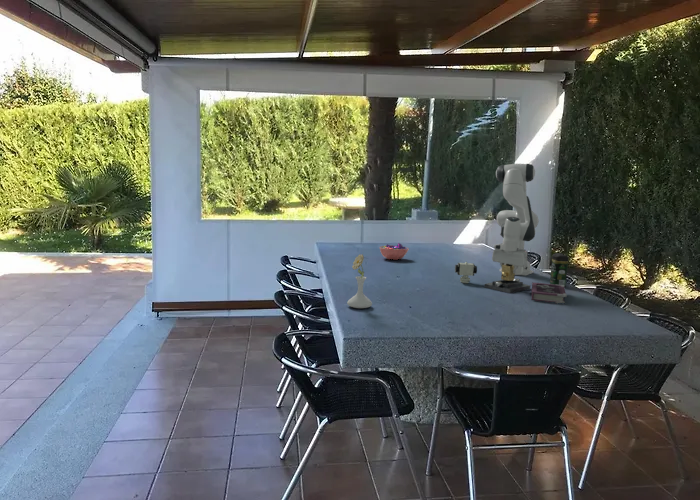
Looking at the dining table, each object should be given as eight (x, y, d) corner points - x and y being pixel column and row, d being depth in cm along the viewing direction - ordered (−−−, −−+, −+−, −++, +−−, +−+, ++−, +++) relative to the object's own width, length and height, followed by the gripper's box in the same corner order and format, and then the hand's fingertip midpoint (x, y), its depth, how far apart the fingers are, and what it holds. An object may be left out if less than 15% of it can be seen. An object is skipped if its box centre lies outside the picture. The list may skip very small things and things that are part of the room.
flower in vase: (347, 303, 268) (349, 250, 264) (371, 304, 268) (374, 251, 264) (346, 310, 255) (348, 255, 251) (372, 311, 255) (374, 256, 251)
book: (565, 305, 285) (566, 295, 284) (531, 301, 290) (532, 291, 289) (563, 294, 309) (563, 285, 308) (531, 291, 314) (532, 282, 313)
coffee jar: (547, 283, 333) (550, 252, 330) (561, 284, 333) (564, 252, 330) (553, 287, 324) (556, 254, 321) (567, 288, 324) (570, 255, 321)
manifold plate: (505, 283, 329) (505, 275, 328) (530, 288, 317) (530, 281, 316) (484, 287, 316) (484, 279, 315) (509, 293, 304) (510, 285, 303)
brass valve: (508, 278, 320) (510, 258, 318) (516, 279, 316) (518, 259, 315) (499, 279, 314) (500, 259, 313) (506, 281, 311) (508, 261, 309)
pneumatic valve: (475, 284, 324) (477, 263, 322) (454, 283, 324) (456, 262, 322) (474, 282, 329) (475, 261, 327) (453, 281, 329) (455, 260, 328)
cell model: (376, 257, 400) (377, 240, 398) (405, 257, 402) (406, 241, 401) (380, 261, 383) (381, 244, 382) (410, 262, 386) (411, 245, 384)
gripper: (530, 249, 307) (528, 275, 309) (498, 244, 322) (496, 268, 324) (524, 250, 303) (522, 276, 305) (491, 245, 318) (489, 269, 320)
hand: (508, 272), depth 315 cm, fingers closed on brass valve, 5 cm apart
